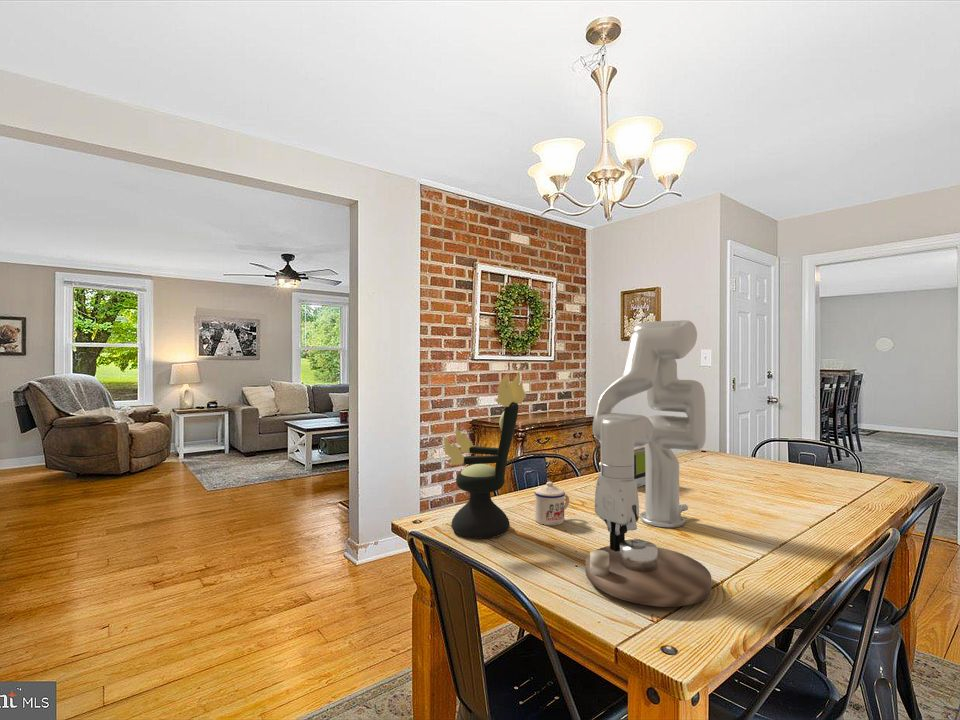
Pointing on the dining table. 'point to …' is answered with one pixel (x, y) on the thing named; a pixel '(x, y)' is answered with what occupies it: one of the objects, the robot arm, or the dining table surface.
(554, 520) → the teacup with lid
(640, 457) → the tea box
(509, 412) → the toy pedestal armchair
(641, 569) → the cap
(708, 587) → the turntable
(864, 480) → the dining table surface
